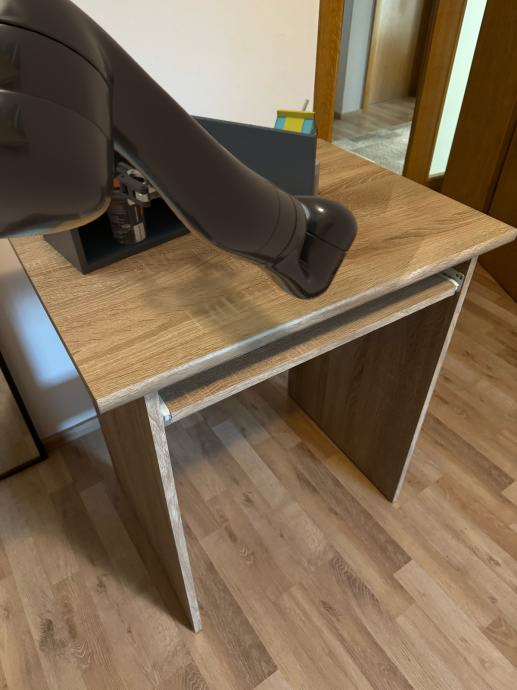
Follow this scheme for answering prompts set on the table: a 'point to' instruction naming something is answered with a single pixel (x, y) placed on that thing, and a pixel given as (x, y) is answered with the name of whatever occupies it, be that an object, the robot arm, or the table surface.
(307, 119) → the carton
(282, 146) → the cupboard door
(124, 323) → the table surface
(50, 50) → the robot arm
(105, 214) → the cupboard
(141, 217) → the pill bottle
